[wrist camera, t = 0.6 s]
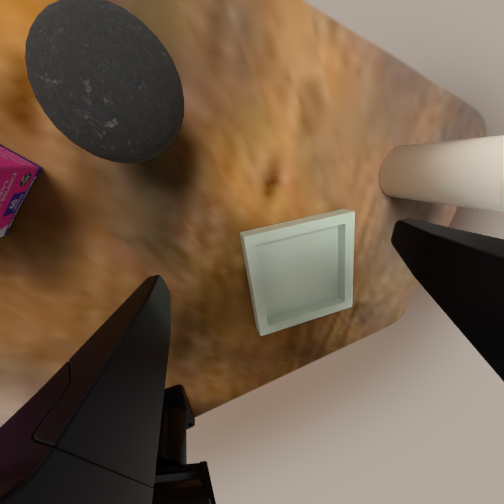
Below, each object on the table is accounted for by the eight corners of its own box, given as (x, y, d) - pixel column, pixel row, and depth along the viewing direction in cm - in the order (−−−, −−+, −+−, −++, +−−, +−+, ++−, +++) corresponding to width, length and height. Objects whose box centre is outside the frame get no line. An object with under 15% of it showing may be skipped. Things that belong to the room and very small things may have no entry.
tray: (343, 299, 27) (352, 306, 26) (256, 326, 25) (260, 336, 24) (344, 208, 23) (354, 211, 22) (239, 232, 21) (243, 236, 20)
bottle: (416, 193, 25) (654, 218, 12) (376, 202, 24) (591, 240, 11) (423, 140, 23) (714, 107, 10) (379, 148, 22) (644, 122, 9)
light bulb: (194, 155, 18) (204, 143, 9) (119, 172, 17) (46, 179, 8) (168, 68, 16) (147, -66, 7) (80, 83, 15) (-82, -51, 6)
